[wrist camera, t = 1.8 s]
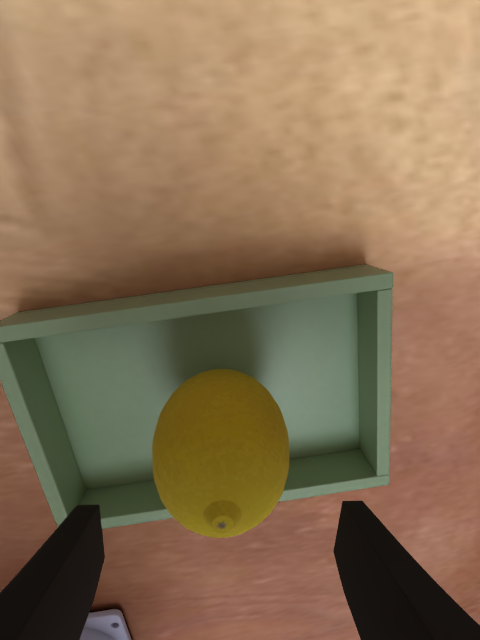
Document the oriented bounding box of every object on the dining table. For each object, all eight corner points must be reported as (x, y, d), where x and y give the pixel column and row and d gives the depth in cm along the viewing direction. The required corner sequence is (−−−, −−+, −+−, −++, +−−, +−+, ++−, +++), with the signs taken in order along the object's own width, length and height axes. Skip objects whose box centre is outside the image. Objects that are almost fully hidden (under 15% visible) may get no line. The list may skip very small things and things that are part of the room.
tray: (368, 451, 20) (390, 485, 17) (80, 495, 19) (60, 536, 17) (366, 264, 16) (393, 272, 14) (16, 312, 16) (-21, 329, 13)
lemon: (254, 329, 16) (285, 424, 9) (283, 418, 18) (330, 563, 11) (151, 363, 17) (95, 484, 9) (189, 448, 18) (169, 610, 11)
